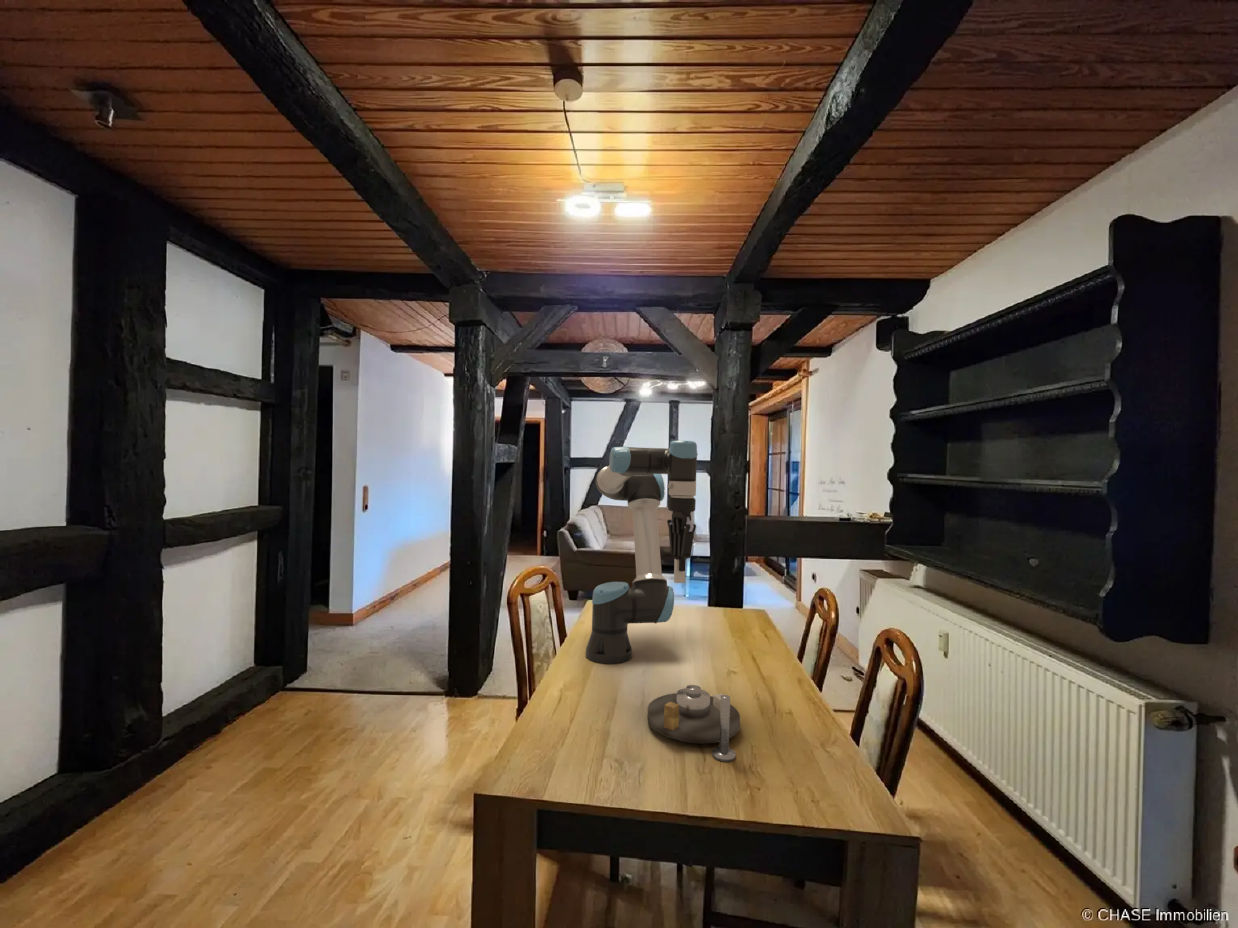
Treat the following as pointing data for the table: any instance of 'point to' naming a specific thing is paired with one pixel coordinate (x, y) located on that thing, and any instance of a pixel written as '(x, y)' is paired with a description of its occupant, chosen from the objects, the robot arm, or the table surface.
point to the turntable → (688, 721)
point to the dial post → (723, 729)
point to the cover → (693, 702)
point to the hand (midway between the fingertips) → (679, 582)
